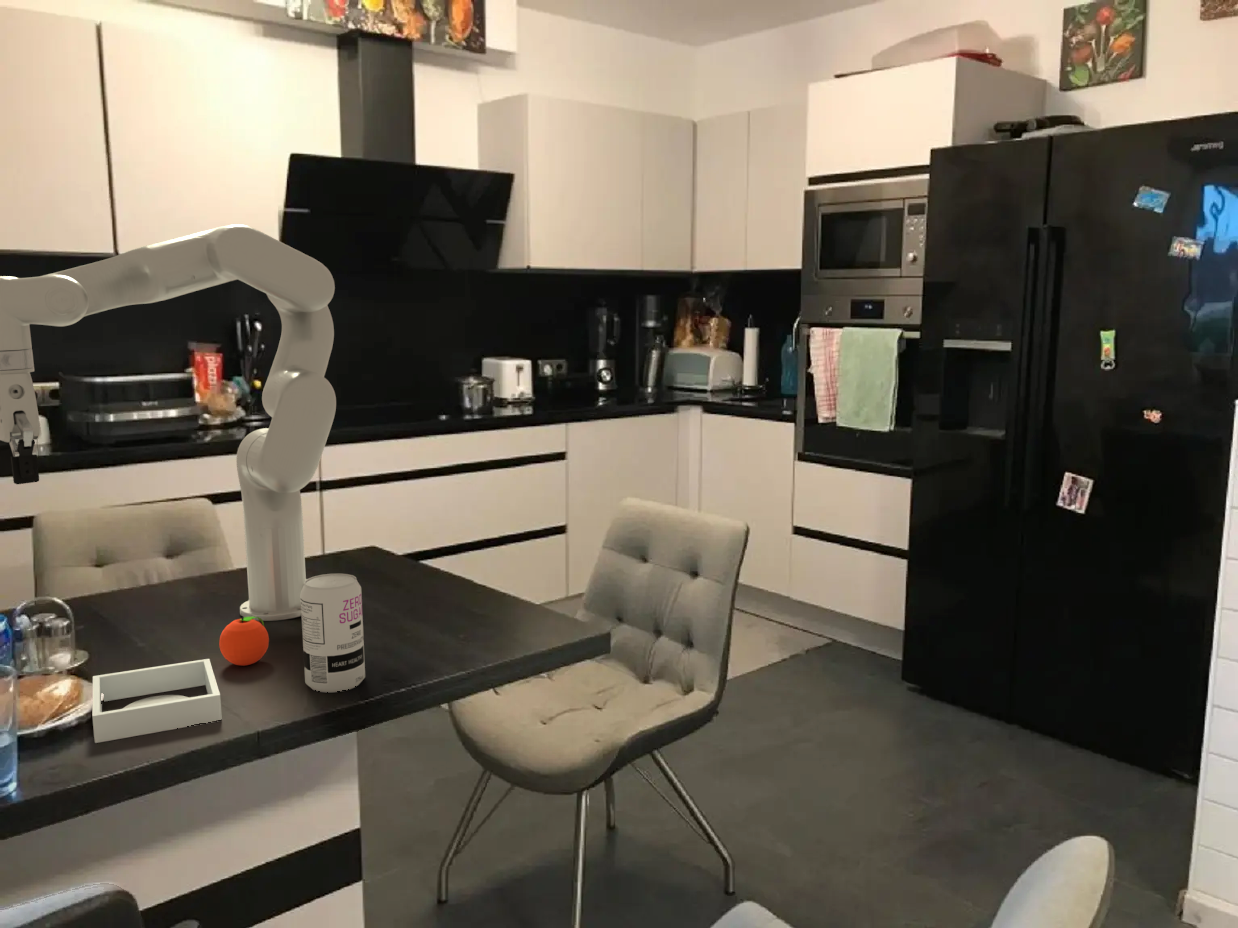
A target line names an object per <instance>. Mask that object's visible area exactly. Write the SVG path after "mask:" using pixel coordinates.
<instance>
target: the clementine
mask: <svg viewBox="0 0 1238 928" xmlns="http://www.w3.org/2000/svg"><path fill="white" fill-rule="evenodd" d="M253 618H258V617H241V618H237V619H234V620H233V621H231V622H230V623H229V624H227V625H226V626H225V627H224V629H223V630H222V632H221V634H220V636H219V645H218V646H219V649H220V652H221V654H222V656H223V658H224V659H225V660H226V661H227V662H229V663H231V664H233V665H236V666H241V667H242V666H243V667H245V666H249V665H253V664H255V663H257V662H258V661H259V660H261V659H263V657H264V656H265V654H266V652H267V650H268V648H269V642H270V638H269V637H270V636H269V632H268V631H267V629H266V627H265V623H264V621H262V619H261V618H258V619H259V620H260V621H259V620H254V619H253Z"/></svg>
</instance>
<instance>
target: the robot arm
mask: <svg viewBox="0 0 1238 928" xmlns="http://www.w3.org/2000/svg"><path fill="white" fill-rule="evenodd" d="M237 280H238V281H240V282H242V283H245V284H246V285H248V286H250V287H252V288H254V289H256V290H258V291H259V292H262V293H264V294H266V296H267V299H268V300H269V301H270V302H271V303H272V304H273V306H274V307H275V309H276V310H277V312H278V314H279V317H280V321H281V335H280V338H279V339H280V340H279V343H278V347H277V351H276V353H275V356H274V359H273V361H272V365H271V367H270V370H269V373H268V376H267V379H266V382H265V384H264V387H263V391H262V394H261V395H262V396H261V401H262V406H263V408H264V410H265V413H266V414H268V416H270V417H271V421H270V424H269V427H268V428H267V427H265V428H264V427H263V428H259V429H255V430H253V431H251V432H250V433H248V434H247V435H246V436H245V437H244V438H243V439H242V441H241V442H240V444H239V446H238V447H237V451H236V471H237V475H238V476H237V478H238V482H239V487H240V493H241V500H242V501H241V502H242V514H243V526H244V527H243V529H244V540H245V541H244V543H245V544H244V545H245V559H246V571H247V573H246V574H247V588H248V589H247V590H248V600H247V601H245V602H243V603H241V605H240V606H239V615H240V616H242V618H244V617H258V618H261V619H262V621H263V622H264V621H265V622H266V621H267V622H272V621H283V620H290V619H295V618H299V617H302V616H301V599H300V593H301V590H302V588H303V586H304V583H305V581H306V580H307V579H308V578H307V576H306V559H305V557H306V556H305V542H304V541H305V539H304V538H305V537H304V523H303V522H304V519H303V518H304V516H303V504H302V495H301V490H302V489H303V488H305V487H306V486H307V485H309V483H310V481H312V479H313V477H314V476H315V474H316V472H317V470H318V467H319V465H320V461H321V458H322V455H323V452H324V451H325V446H326V444H327V440H328V439H329V438H328V437H329V435H330V431H331V429H332V427H333V426H332V425H333V422H334V419H335V415H336V411H337V410H336V409H337V397H336V392H335V390H334V387H333V386H332V384H331V383H330V381H329V380H328V379H327V378H326V377H325V376H326V372H327V368H328V365H329V360H330V357H331V353H332V350H333V344H334V340H335V339H334V338H335V329H334V321H333V317H332V314H331V311H330V309H329V306H328V305H329V304H330V302H331V301H332V299H333V298H334V294H335V291H336V290H335V289H336V287H335V286H336V285H335V279H334V278H333V275H332V273H331V271H330V270H329V268H328V267H327V266H325V265H324V263H322V262H320V261H318V260H317V259H315V258H314V257H312V256H309V255H308V254H305V253H303V252H302V251H300V250H298V249H295V248H293V247H291V246H290V245H288V244H285V243H284V242H282V241H280V240H278V239H276V238H274V237H273V236H271V235H268V234H266V233H265V232H263V231H261V230H259V229H257V228H254V227H252V226H249V225H246V224H242V223H240V224H239V223H238V224H237V223H236V224H234V223H233V224H229V225H224V226H219V227H215V228H211V229H208V230H203V231H199V232H195V233H191V234H188V235H184V236H180V237H176V238H173V239H168V240H165V241H160V242H156V243H152V244H148V245H145V246H140V247H136V248H135V249H131V250H128V251H125V252H122V253H120V254H118V255H115V256H112V257H108V258H105V259H103V260H102V259H101V260H99V261H98V260H97V261H95V262H92V263H87V264H84V265H78V266H76V267H72V268H68V269H65V270H60V271H56V272H53V273H48V274H43V275H40V276H32V277H31V276H30V277H16V276H10V275H9V276H8V275H7V276H6V275H3V276H2V275H0V476H1V477H2V476H9V475H12V479H13V480H12V481H13V483H14V484H15V485H22V484H23V485H24V484H25V485H26V484H31V483H38V482H39V481H40V476H39V475H40V473H39V466H38V465H39V464H38V458H37V457H38V455H37V449H36V446H35V444H36V440H39V439H40V438H41V437H42V430H41V423H40V422H41V421H40V418H39V417H40V416H39V411H38V410H39V409H38V403H37V397H36V393H35V388H34V382H33V379H32V376H31V375H32V374H31V373H33V372H35V364H34V354H33V349H32V346H33V345H32V337H31V336H32V335H31V327H30V325H40V326H41V325H43V326H50V327H51V326H52V327H67V326H71V325H74V324H76V323H77V322H79V321H80V320H82V319H83V318H84V317H88V316H90V315H94V314H99V313H101V312H105V311H108V310H112V309H117V308H122V307H126V306H132V305H143V304H144V305H145V304H153V303H158V302H161V301H166V300H170V299H174V298H177V297H180V296H183V295H187V294H190V293H194V292H196V291H201V290H205V289H207V288H211V287H215V286H219V285H222V284H226V283H229V282H234V281H237ZM258 618H253V619H254V620H256V621H258V622H261V621H260V620H259V619H258Z"/></svg>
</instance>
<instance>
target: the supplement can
mask: <svg viewBox="0 0 1238 928" xmlns="http://www.w3.org/2000/svg"><path fill="white" fill-rule="evenodd" d="M306 579H307V580H306V581H305V583H304V586H303V588H302V590H301V593H300V599H301V616H300V617H301V629H302V630H301V631H302V632H301V633H302V647H303V648H302V649H303V651H302V652H303V666H304V670H303V671H304V682H305V684H306V685H307V686H308V687H309V688H310V689H312V690H313V691H315V690H316V692H318V691H320V692H319V693H327V692H328V693H338V692H337V691H340V692H343V691H342V690H346V691H349V690H352V689H354V688H356V687H357V686H358V687H359V685H360V684H361V683H362V682H363V680H364V679H365V678H366V668H365V667H366V664H365V663H366V662H365V645H364V643H365V642H364V639H365V638H364V622H363V621H364V619H363V618H364V617H363V599H362V598H363V597H362V586H361V584H360V583H359V582H358V580H357V577H356V576H355V575H353V574H348V573H327V574H319V575H315V576H312V577H311V576H310V577H309V578H306ZM355 686H356V687H355ZM348 689H349V690H348Z"/></svg>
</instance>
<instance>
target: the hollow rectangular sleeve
mask: <svg viewBox="0 0 1238 928" xmlns="http://www.w3.org/2000/svg"><path fill="white" fill-rule="evenodd" d="M201 686H202V687H203V686H204V687H205V688H206V694H204V695H198V696H191V697H188V696H184V695H180V694H164V695H163V694H162V695H156V696H150V697H146V698H142V699H139V700H136V701H133V702H132V703H129V704H127V705H126V706H124V707H123V708H120V709H112V710H108V711H103V703H102V704H101V693H103V694H104V702H108V701H109V702H110V701H115V700H116V701H117V700H121V699H127V698H135V697H140V696H146V695H153V694H158V693H164V692H171V691H177V690H184V689H190V688H196V687H201ZM91 714H92V726H93V737H94V738H93V739H94V744H97V743H98V744H99V743H104V742H109V741H114V740H116V741H117V740H120V739H126V738H131V737H136V736H143V735H149V734H154V733H159V732H166V731H172V730H176V729H177V728H178V729H182V728H188V727H187V726H189V727H192V726H191V725H194V724H199V723H206V724H209V723H208V722H211V723H213V722H212V721H216V720H221V719H222V720H223V718H222V717H223V716H222V701H221V692H220V690H219V686H218V684H217V680H216V677H215V673H214V671H213V667H212V663H211V659H210V658H205V659H197V660H193V661H192V660H191V661H185V662H178V663H171V664H170V663H169V664H165V665H158V666H152V667H144V668H139V669H132V670H124V671H120V672H112V673H105V674H100V675H99V674H98V675H93V676H92V713H91ZM194 726H195V725H194Z"/></svg>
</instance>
